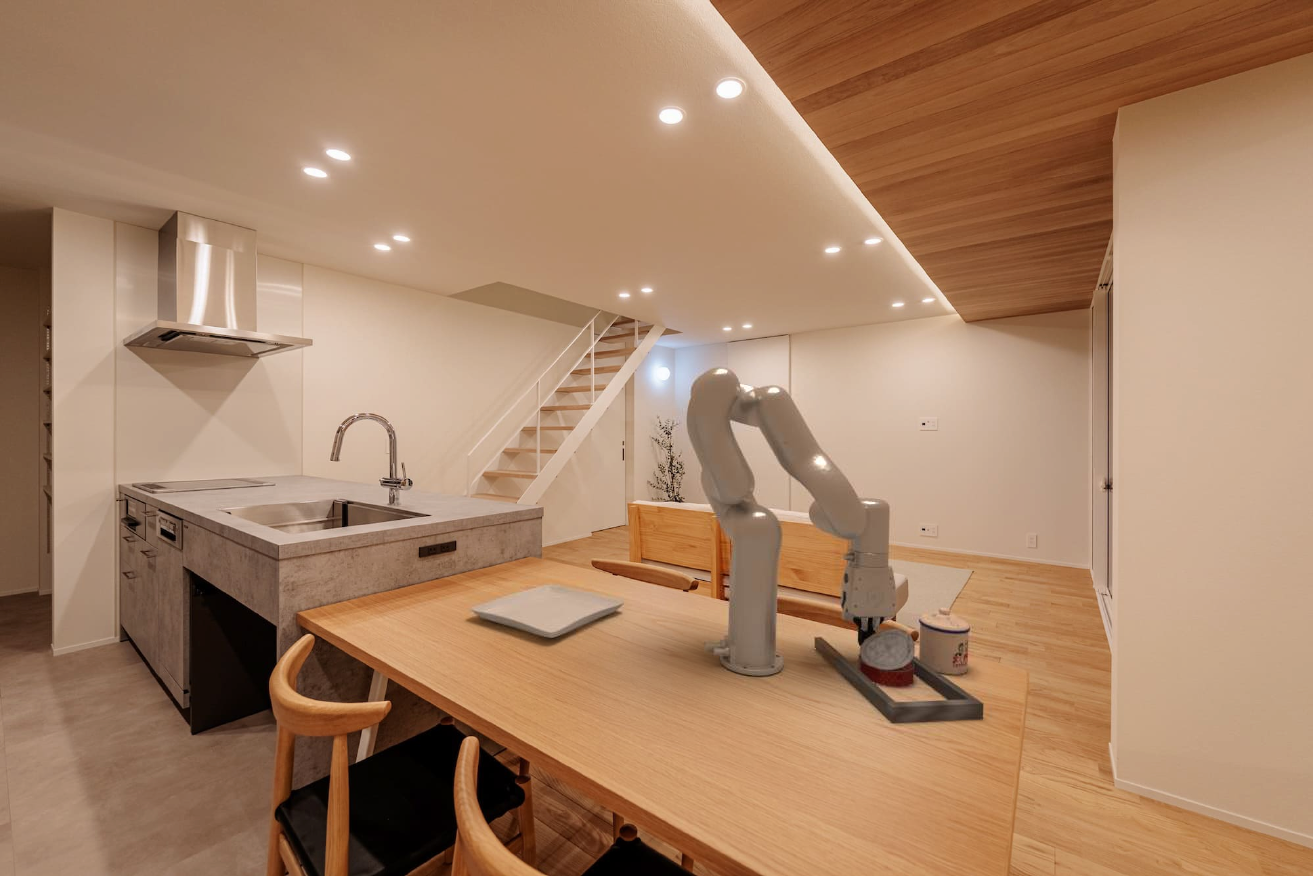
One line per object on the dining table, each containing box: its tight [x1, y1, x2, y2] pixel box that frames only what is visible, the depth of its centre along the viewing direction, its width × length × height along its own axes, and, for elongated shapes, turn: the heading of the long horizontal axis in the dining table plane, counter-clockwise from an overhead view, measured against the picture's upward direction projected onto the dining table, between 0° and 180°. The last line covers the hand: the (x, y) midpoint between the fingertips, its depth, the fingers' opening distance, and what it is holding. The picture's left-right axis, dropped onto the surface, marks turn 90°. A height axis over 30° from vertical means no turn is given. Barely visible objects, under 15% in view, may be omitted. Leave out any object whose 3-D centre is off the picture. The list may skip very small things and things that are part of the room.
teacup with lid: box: [918, 607, 971, 676], centre depth 108 cm, size 12×9×12 cm
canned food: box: [857, 628, 916, 688], centre depth 102 cm, size 11×10×10 cm
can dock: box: [814, 636, 984, 724], centre depth 100 cm, size 16×30×2 cm, turn 7°
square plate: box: [469, 583, 626, 639], centre depth 129 cm, size 27×27×4 cm
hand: (866, 647), depth 108 cm, fingers closed
